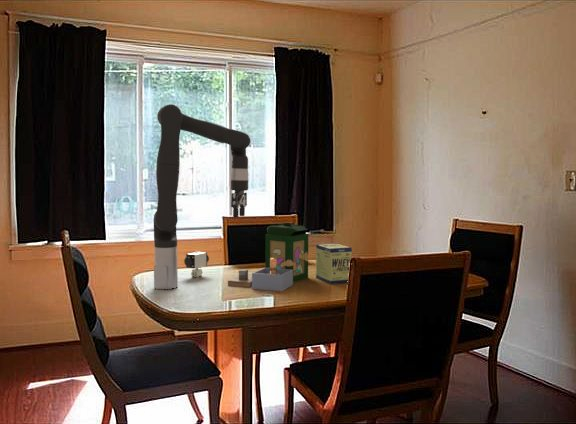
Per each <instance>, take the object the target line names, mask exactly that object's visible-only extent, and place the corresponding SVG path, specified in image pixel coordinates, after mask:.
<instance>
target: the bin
mask: <svg viewBox="0 0 576 424" xmlns="http://www.w3.org/2000/svg"><path fill="white" fill-rule="evenodd" d="M277 273H279V274H281V275H276V274H270V268H265V267H263V268H261V269H258V270H256V271H254V272H252V273H251V278H252V286H251V288H252V290H260V291H261V290H262V291H273V292H274V291H275V292H283V291H285V290H287V289H288V288H290V287H292V286H293V285H294V282H293V270H289V269H277Z"/></svg>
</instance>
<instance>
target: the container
mask: <svg viewBox="0 0 576 424" xmlns="http://www.w3.org/2000/svg"><path fill="white" fill-rule="evenodd" d="M266 231H267V233H266V234H265V239H264V240H265V241H264V242H265V246H264V247H265V248H264V249H265V252H264V253H265V254H264V255H265V260H264V261H265V264H264V265H265V267H264V268H270V258H277V269H289V270H293V283H294V282H298V281H302V280H306V279H308V278H309V233H307V231H308V229H307V228H306V226H304V224H303V225H302V224H292V223H290V222H289V223H288V222H286V223H285V222H283V223H282V224H274V225H269V226H268V227H267V228H266Z"/></svg>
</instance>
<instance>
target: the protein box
mask: <svg viewBox="0 0 576 424" xmlns="http://www.w3.org/2000/svg"><path fill="white" fill-rule="evenodd" d="M315 250H316V257H315V258H316V259H315V260H316V261H315V279H318V280H320V281H323V282H324V281H325V283H326V284H329V283H330V284H329V285H335V284H334V283H338V284H347V281H348V273H349V263H350V259H351V258H352V254H353V249H352V247H351V246H347V245H343V244H339V243H323V244H322V243H321V244H320V243H319V244H316V249H315Z"/></svg>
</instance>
